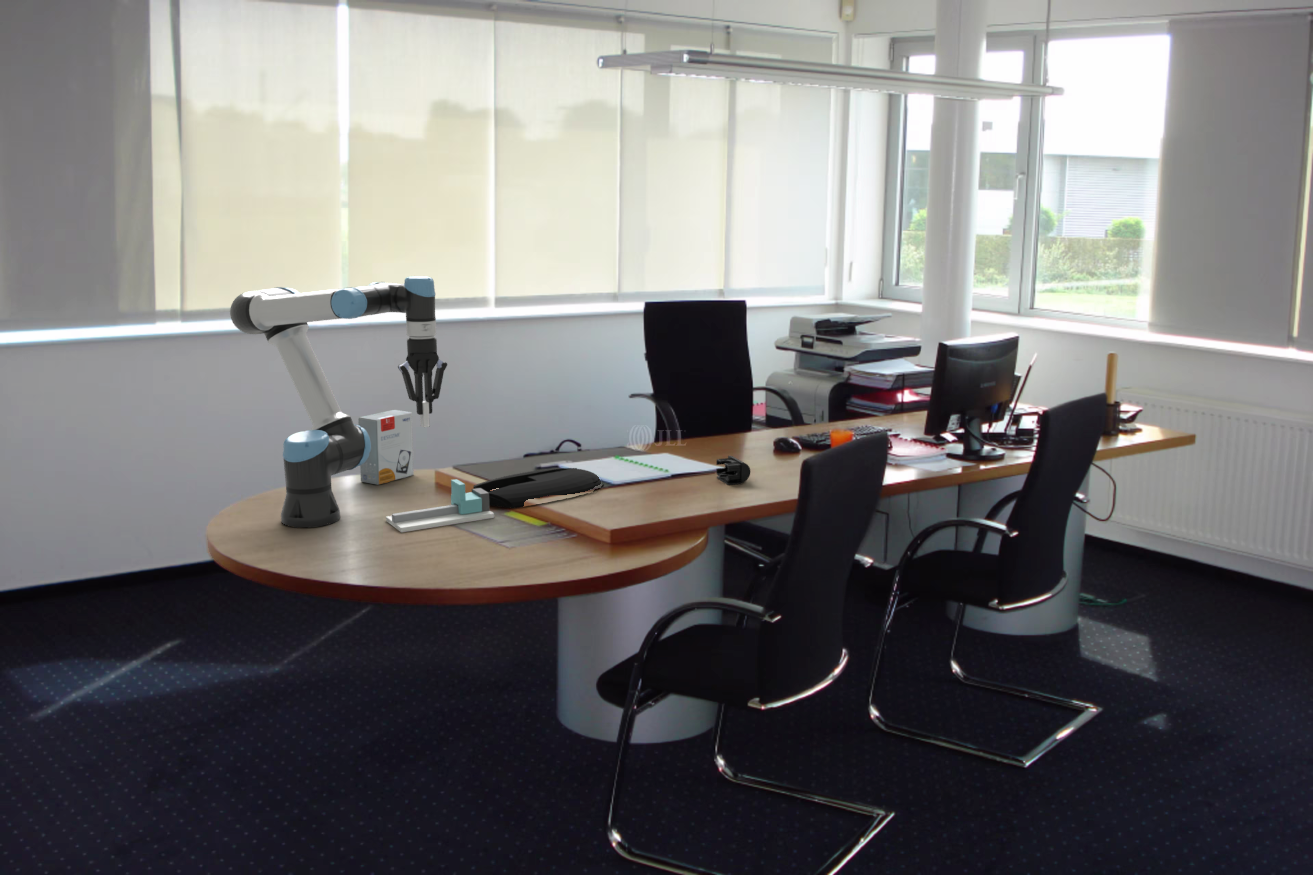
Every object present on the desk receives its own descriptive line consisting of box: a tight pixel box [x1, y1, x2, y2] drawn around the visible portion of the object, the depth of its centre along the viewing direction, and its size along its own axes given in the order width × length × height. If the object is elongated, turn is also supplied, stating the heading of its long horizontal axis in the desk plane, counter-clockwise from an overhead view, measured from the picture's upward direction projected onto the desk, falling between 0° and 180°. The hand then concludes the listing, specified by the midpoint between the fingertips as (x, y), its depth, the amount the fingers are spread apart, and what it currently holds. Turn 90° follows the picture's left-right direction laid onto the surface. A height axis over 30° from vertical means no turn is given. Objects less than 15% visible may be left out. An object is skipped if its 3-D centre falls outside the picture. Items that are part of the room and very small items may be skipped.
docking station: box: [472, 467, 601, 509], centre depth 346 cm, size 25×41×5 cm, turn 129°
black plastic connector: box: [715, 455, 751, 486], centre depth 358 cm, size 10×7×7 cm
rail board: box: [385, 488, 495, 533], centre depth 318 cm, size 26×12×6 cm, turn 121°
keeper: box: [450, 478, 482, 515], centre depth 321 cm, size 6×7×8 cm
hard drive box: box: [357, 409, 415, 486], centre depth 358 cm, size 16×8×20 cm, turn 148°
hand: (425, 426), depth 311 cm, fingers closed
